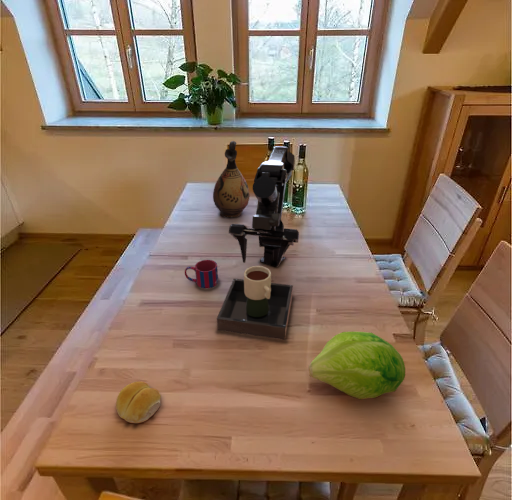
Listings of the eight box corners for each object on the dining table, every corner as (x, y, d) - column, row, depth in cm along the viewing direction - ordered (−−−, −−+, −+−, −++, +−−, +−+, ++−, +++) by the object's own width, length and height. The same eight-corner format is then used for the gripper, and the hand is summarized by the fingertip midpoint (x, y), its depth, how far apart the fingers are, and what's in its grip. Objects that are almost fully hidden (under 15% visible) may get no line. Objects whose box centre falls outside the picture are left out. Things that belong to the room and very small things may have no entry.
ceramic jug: (249, 221, 147) (248, 148, 131) (212, 220, 147) (206, 148, 131) (250, 204, 161) (249, 137, 146) (216, 204, 162) (212, 137, 146)
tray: (234, 291, 107) (233, 278, 104) (292, 298, 104) (293, 285, 102) (217, 332, 92) (216, 318, 90) (284, 341, 89) (285, 327, 87)
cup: (216, 291, 107) (214, 272, 103) (183, 289, 108) (181, 270, 104) (220, 278, 113) (219, 260, 109) (189, 276, 114) (187, 258, 110)
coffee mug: (279, 317, 96) (281, 279, 89) (257, 328, 92) (257, 288, 86) (257, 296, 103) (257, 259, 97) (236, 305, 100) (234, 267, 93)
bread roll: (138, 381, 79) (135, 369, 77) (167, 401, 75) (165, 388, 73) (107, 409, 73) (103, 397, 71) (137, 432, 69) (133, 420, 67)
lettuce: (303, 356, 85) (307, 313, 78) (386, 356, 85) (398, 313, 78) (311, 414, 72) (317, 370, 65) (410, 415, 72) (427, 370, 65)
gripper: (227, 197, 91) (219, 257, 89) (300, 203, 88) (293, 265, 86) (236, 208, 102) (229, 262, 100) (301, 213, 99) (295, 269, 97)
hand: (260, 264), depth 96 cm, fingers open, 9 cm apart
